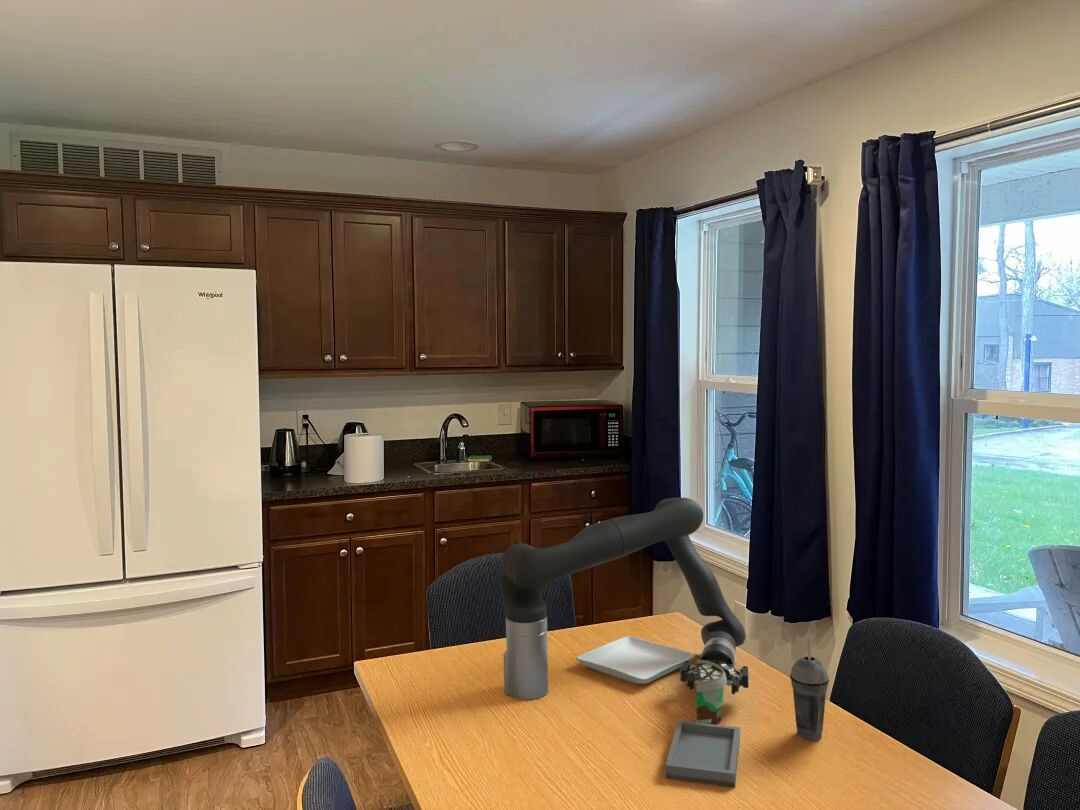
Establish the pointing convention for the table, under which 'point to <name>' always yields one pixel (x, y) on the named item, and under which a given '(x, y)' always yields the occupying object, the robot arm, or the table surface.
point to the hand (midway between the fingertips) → (712, 687)
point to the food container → (709, 692)
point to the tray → (704, 753)
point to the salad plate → (635, 659)
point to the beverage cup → (809, 695)
